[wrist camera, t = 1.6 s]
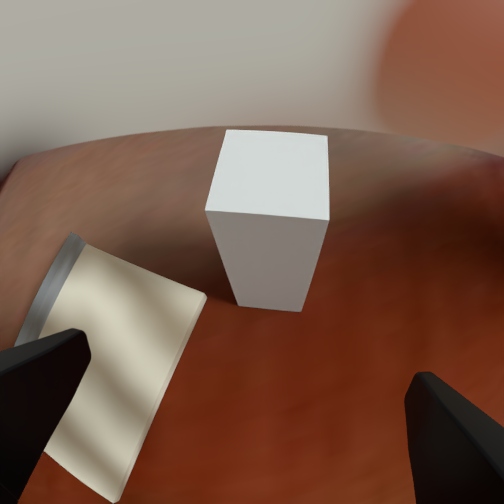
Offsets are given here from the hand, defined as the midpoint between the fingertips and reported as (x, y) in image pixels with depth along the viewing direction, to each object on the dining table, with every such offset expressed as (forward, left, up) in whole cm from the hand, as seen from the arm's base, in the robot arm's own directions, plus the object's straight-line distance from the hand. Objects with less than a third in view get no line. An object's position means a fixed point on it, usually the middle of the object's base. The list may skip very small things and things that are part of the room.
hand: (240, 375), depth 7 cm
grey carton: (+8, +2, -13) cm, 16 cm away
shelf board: (-4, +12, -13) cm, 18 cm away
